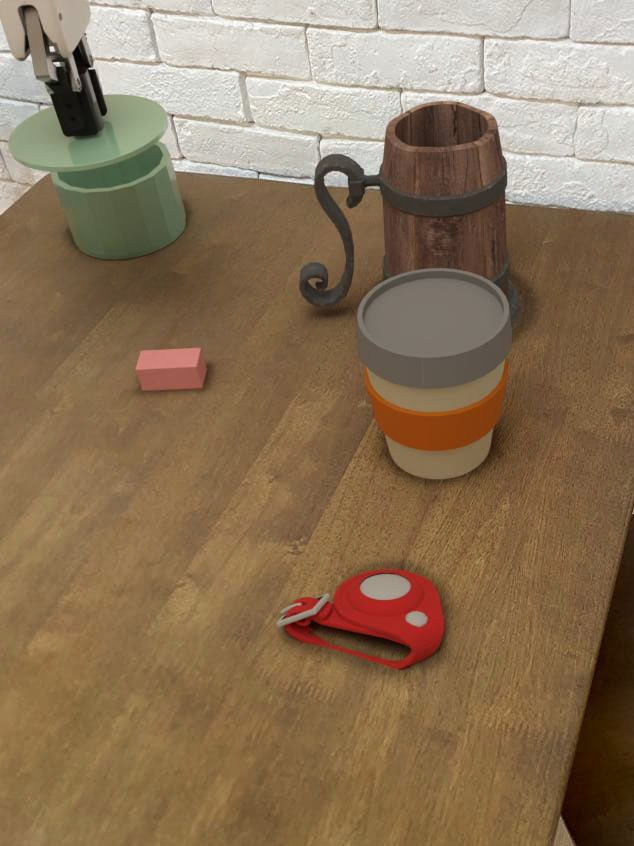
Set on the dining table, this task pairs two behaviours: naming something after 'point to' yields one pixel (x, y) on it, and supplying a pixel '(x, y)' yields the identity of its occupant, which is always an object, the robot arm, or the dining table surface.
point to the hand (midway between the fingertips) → (86, 123)
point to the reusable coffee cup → (435, 367)
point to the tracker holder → (375, 613)
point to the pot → (123, 205)
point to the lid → (115, 141)
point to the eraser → (171, 369)
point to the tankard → (428, 200)
